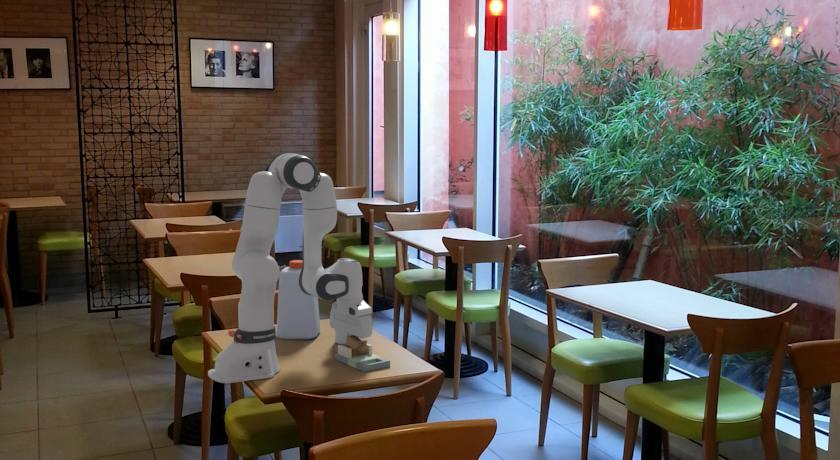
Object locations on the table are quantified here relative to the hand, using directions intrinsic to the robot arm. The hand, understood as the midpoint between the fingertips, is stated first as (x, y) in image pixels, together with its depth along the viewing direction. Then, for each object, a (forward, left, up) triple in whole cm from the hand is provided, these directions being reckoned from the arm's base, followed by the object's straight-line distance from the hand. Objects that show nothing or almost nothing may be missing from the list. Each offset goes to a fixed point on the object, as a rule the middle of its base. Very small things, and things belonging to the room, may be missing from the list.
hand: (350, 345), depth 282 cm
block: (0, -3, -1) cm, 3 cm away
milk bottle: (+9, +17, -4) cm, 20 cm away
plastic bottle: (0, +36, -4) cm, 36 cm away
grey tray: (0, -8, -4) cm, 9 cm away
